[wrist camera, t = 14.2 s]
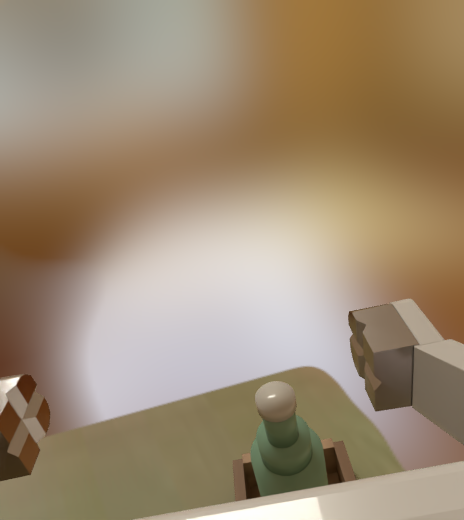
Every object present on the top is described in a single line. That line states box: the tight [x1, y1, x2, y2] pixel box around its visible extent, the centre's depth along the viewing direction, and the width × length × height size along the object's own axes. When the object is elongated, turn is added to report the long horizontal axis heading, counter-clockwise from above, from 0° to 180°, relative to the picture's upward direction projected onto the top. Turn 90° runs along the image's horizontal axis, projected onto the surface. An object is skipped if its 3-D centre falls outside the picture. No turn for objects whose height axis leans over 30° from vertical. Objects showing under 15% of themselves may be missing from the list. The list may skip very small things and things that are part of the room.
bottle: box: [250, 381, 328, 497], centre depth 34 cm, size 6×6×18 cm
